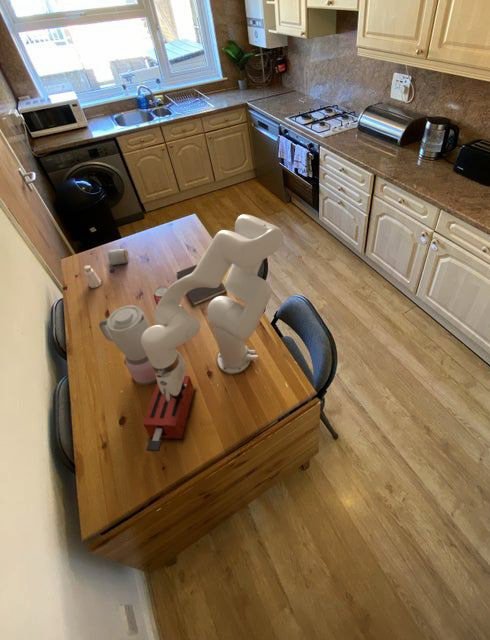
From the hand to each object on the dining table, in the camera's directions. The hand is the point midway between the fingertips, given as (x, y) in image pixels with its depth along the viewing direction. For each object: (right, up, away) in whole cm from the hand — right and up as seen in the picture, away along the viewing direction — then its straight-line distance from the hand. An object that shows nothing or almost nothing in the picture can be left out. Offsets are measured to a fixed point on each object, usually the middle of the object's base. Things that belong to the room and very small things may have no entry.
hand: (179, 392), depth 109 cm
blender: (-18, 0, +18) cm, 25 cm away
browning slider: (0, 0, 0) cm, 0 cm away
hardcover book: (-6, +28, +53) cm, 60 cm away
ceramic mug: (-51, +38, +68) cm, 93 cm away
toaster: (-3, -9, +6) cm, 11 cm away
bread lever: (-4, -10, -8) cm, 14 cm away
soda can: (-17, +18, +41) cm, 48 cm away
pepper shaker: (-57, +27, +55) cm, 83 cm away
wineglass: (-9, +12, +33) cm, 37 cm away
